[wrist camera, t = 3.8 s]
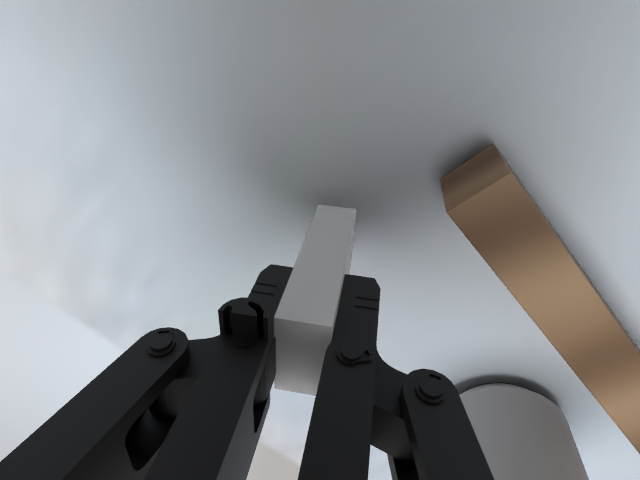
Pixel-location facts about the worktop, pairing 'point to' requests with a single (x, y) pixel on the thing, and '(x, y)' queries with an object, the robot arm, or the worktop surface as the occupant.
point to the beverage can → (522, 434)
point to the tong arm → (546, 282)
